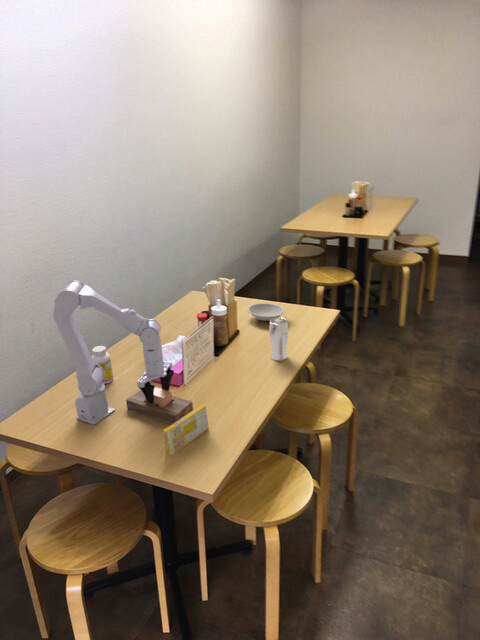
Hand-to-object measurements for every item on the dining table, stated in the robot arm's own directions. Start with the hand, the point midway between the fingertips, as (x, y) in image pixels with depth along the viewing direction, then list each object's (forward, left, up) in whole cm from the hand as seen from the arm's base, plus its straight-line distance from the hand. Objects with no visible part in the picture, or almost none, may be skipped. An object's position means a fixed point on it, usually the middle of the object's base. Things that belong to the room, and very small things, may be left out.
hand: (158, 396), depth 172 cm
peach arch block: (0, 0, -4) cm, 4 cm away
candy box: (-9, -18, -6) cm, 21 cm away
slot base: (0, 0, -5) cm, 5 cm away
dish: (+79, +5, -5) cm, 79 cm away
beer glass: (+50, -17, -5) cm, 53 cm away
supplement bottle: (+6, +31, -5) cm, 32 cm away
